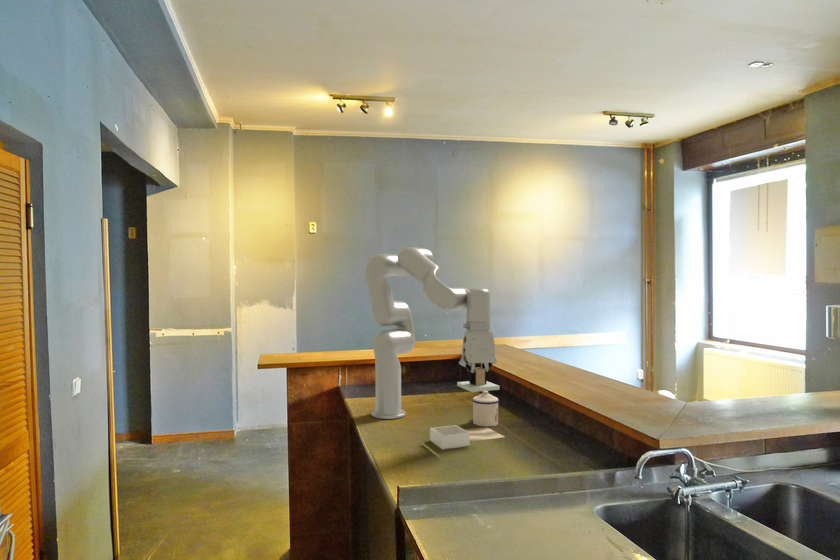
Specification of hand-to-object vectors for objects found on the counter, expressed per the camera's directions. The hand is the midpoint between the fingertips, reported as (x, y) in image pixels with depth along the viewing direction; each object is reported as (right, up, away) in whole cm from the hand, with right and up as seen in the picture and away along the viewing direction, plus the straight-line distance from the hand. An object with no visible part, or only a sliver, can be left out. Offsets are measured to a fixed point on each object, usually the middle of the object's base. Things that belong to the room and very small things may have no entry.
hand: (477, 383), depth 166 cm
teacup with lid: (+4, -17, +15) cm, 23 cm away
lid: (0, -1, 0) cm, 1 cm away
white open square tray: (-10, -17, -9) cm, 22 cm away
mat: (+1, -17, 0) cm, 17 cm away
